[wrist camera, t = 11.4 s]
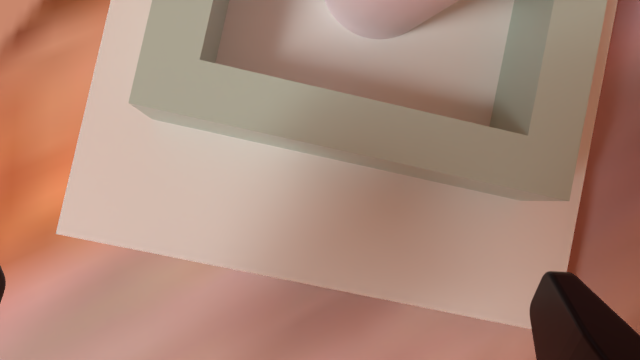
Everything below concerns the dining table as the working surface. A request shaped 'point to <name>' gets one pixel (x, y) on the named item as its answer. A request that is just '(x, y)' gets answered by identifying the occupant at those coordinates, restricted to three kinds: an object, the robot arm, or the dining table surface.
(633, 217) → the dining table surface
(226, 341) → the dining table surface
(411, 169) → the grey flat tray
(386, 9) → the smoothie
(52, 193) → the dining table surface
